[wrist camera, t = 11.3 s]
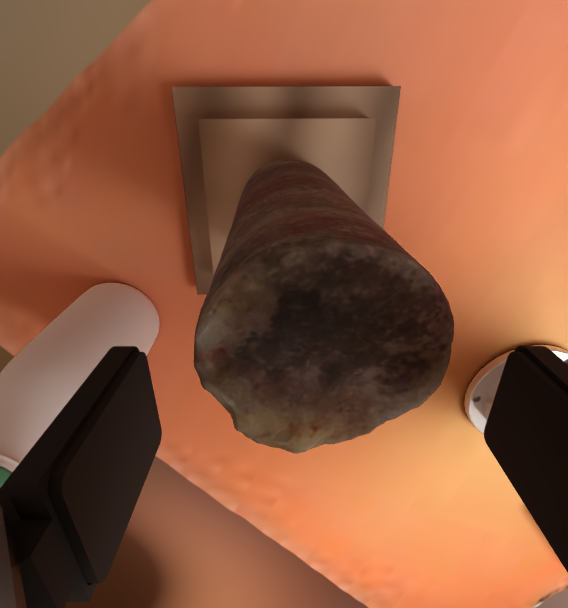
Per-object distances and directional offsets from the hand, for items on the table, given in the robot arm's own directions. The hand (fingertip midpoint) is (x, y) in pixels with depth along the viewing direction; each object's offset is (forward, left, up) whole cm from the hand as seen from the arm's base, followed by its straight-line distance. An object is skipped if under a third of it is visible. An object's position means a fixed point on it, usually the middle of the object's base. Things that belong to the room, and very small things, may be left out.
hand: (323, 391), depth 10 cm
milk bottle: (+16, +11, -24) cm, 31 cm away
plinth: (0, 0, -24) cm, 24 cm away
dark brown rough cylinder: (0, 0, -20) cm, 20 cm away
